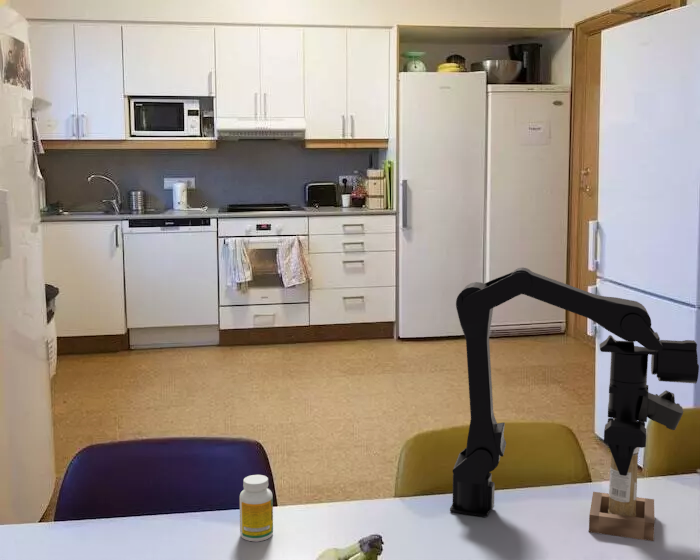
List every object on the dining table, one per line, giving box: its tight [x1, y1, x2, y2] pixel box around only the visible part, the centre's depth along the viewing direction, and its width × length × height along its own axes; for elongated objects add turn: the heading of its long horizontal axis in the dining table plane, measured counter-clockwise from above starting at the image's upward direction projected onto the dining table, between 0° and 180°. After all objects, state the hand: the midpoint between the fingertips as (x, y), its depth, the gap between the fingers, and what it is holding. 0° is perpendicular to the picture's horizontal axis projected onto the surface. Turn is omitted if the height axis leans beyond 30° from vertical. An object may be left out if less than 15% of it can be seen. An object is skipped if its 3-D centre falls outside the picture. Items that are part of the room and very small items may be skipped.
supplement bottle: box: [238, 474, 274, 543], centre depth 132 cm, size 5×5×10 cm
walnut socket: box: [588, 491, 656, 542], centre depth 136 cm, size 10×10×3 cm
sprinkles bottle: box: [608, 447, 641, 517], centre depth 135 cm, size 5×5×13 cm
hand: (623, 470), depth 135 cm, fingers closed on sprinkles bottle, 4 cm apart
